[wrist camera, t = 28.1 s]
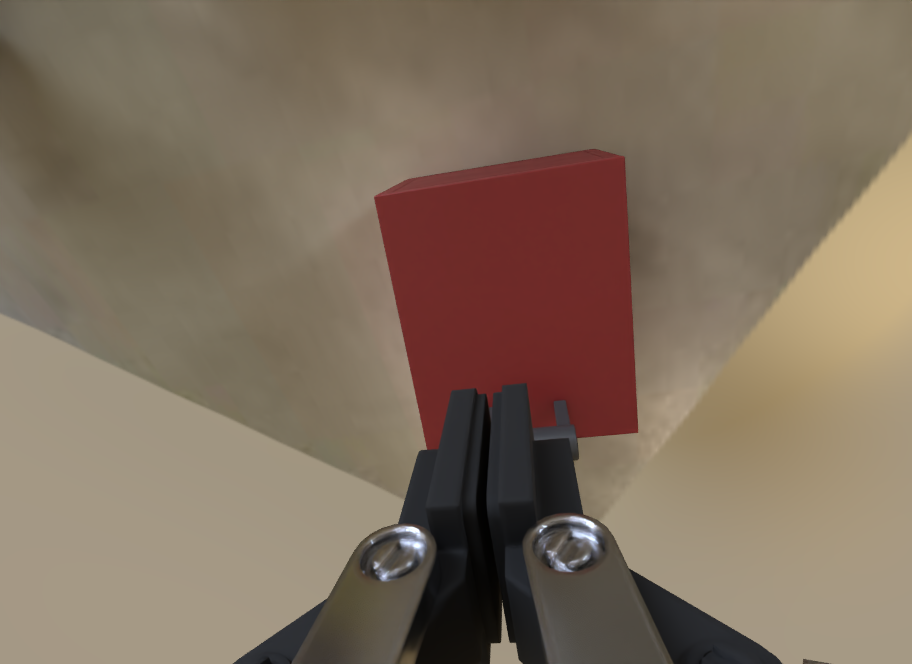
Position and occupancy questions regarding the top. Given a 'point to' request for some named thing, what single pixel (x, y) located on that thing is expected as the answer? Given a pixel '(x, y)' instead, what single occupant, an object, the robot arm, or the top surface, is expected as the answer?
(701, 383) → the top surface
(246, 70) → the top surface
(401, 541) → the robot arm
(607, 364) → the lid
